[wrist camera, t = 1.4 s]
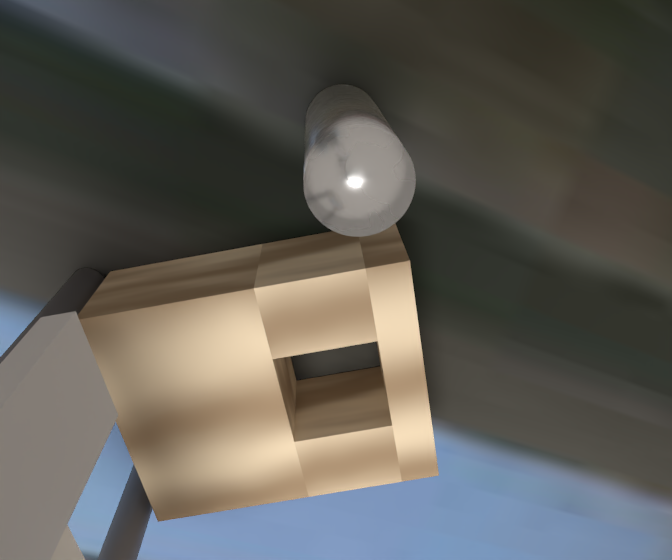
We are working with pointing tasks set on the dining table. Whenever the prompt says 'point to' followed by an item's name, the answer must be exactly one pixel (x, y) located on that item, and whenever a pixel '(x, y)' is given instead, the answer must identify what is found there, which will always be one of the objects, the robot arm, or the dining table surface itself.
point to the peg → (354, 164)
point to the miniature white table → (134, 502)
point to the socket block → (264, 372)
